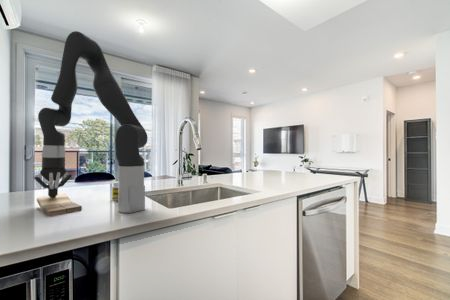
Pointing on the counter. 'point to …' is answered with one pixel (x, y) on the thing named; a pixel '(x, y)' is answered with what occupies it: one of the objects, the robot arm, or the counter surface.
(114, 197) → the supplement bottle
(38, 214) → the counter surface
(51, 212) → the brown flat square block
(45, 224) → the counter surface
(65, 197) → the oak plank
